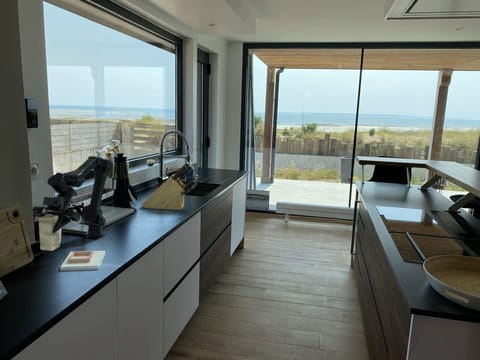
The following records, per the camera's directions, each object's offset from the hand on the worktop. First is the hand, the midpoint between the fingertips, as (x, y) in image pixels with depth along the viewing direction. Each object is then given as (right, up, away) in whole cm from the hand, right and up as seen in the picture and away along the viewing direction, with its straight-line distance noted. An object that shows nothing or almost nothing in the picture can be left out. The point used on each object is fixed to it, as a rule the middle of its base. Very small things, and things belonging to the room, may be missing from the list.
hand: (47, 232), depth 145 cm
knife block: (+31, +2, +96) cm, 101 cm away
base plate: (+11, -13, +6) cm, 18 cm away
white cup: (-11, -9, +26) cm, 30 cm away
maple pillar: (0, -7, +3) cm, 7 cm away
